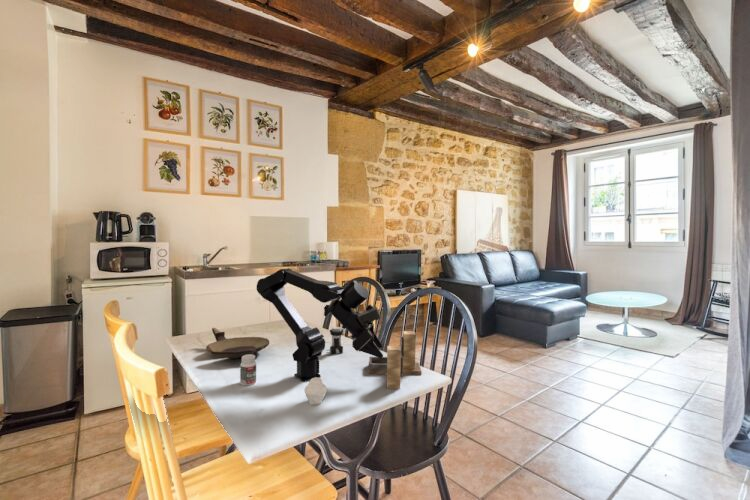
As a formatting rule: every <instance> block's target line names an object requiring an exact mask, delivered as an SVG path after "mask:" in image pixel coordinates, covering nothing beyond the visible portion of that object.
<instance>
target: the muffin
mask: <svg viewBox="0 0 750 500" xmlns="http://www.w3.org/2000/svg"><path fill="white" fill-rule="evenodd" d="M308 381H309V382H308V384H307V385H306V386H305V387H304V393H305V394H304V395H305V396H306V399H307V400H308V402H309V404H311V405H313V406H315V405H320V404H321V403H322V401H323V400H324V398H325V395H326V393H327V391H328V388H327V386H326V384H324V382H323V379H322V378H320V377H318V378H317V377H315V378H312V379H311V380H308Z"/></svg>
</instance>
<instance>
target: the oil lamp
mask: <svg viewBox="0 0 750 500" xmlns="http://www.w3.org/2000/svg"><path fill="white" fill-rule="evenodd" d="M211 328H212V329H211V330H212V333H213V335H214V339H215V340H216V341H214V342H212V343H209V344H208V345H206V351H207V352H210V355H214V356H217V357H220V358H227V359H239V358H242V356H244V355H249V354H251V355H254V354H257V353H258V352H260V351H262V350H263V349H265V348H266V347H268V346H269V345H270V340H269V339H268V337H267V338H265V337H263V336H262V337H261V336H246V337H244V336H243V337H242V336H241V337H240V336H239V337H230V338H226V336H225V335H226V332H225V331H220V330H218V329H217V328H216V327H211Z"/></svg>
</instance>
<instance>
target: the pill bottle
mask: <svg viewBox="0 0 750 500" xmlns="http://www.w3.org/2000/svg"><path fill="white" fill-rule="evenodd" d="M239 367H240V368H239V369H240V370H239V371H240V372H239V373H240V376H239V378H240V381H239V383H240V384H241V385H242V386H244V387H245V386H252V385H254V384H256V383H257V362H256V355H254V354H249V355H244V356H242V357H241V363H240V366H239Z"/></svg>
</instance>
